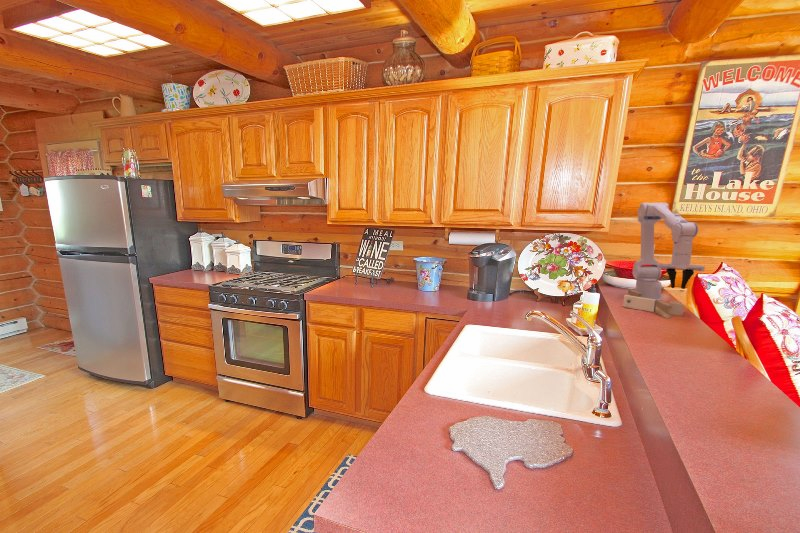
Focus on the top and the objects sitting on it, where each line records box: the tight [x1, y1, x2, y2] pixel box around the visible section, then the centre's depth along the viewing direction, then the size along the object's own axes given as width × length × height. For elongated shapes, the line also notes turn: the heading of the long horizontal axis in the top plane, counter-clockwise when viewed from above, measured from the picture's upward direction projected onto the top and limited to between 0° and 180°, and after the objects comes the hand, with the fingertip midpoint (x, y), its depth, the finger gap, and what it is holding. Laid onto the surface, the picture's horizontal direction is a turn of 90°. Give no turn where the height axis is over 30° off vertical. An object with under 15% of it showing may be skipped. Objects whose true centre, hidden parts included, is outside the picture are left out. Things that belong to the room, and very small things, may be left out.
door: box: [622, 294, 659, 313], centre depth 146 cm, size 2×12×5 cm, turn 40°
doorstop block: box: [667, 300, 685, 316], centre depth 140 cm, size 4×4×4 cm
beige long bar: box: [627, 289, 672, 319], centre depth 148 cm, size 2×28×5 cm, turn 174°
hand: (677, 288), depth 139 cm, fingers open, 3 cm apart
